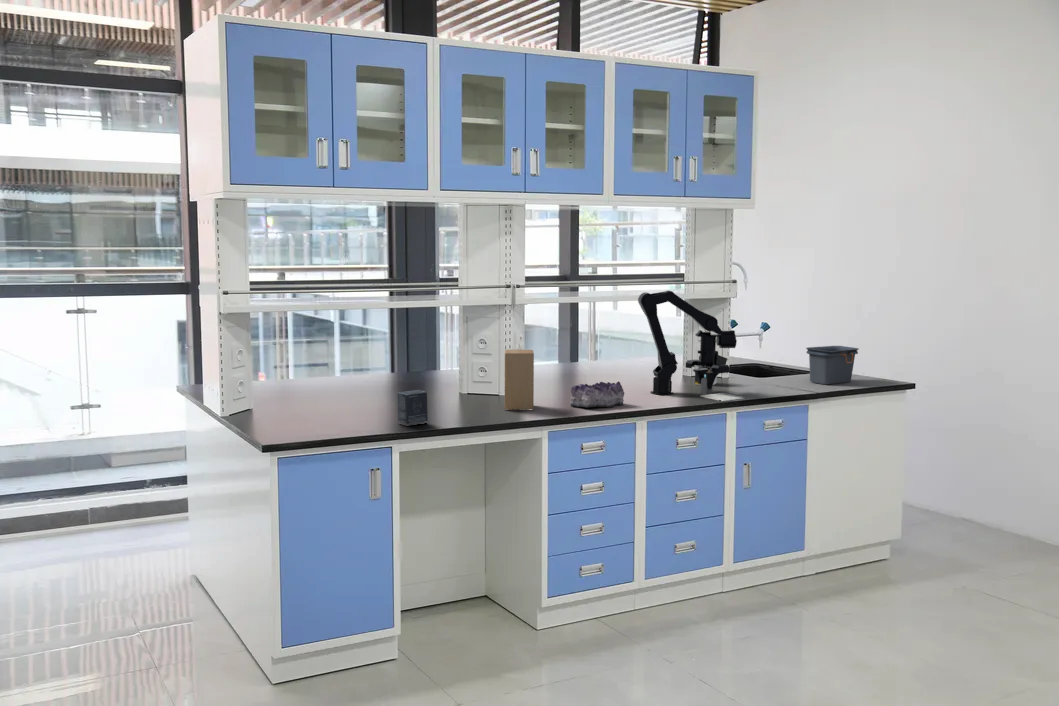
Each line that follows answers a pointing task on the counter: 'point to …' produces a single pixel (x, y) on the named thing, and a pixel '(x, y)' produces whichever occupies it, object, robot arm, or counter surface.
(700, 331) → the robot arm
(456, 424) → the counter surface
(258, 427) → the counter surface
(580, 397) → the geode
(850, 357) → the storage bin
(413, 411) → the box
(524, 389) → the wooden block
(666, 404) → the counter surface
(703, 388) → the grey bottle
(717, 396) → the notepad
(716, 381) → the medicine bottle
